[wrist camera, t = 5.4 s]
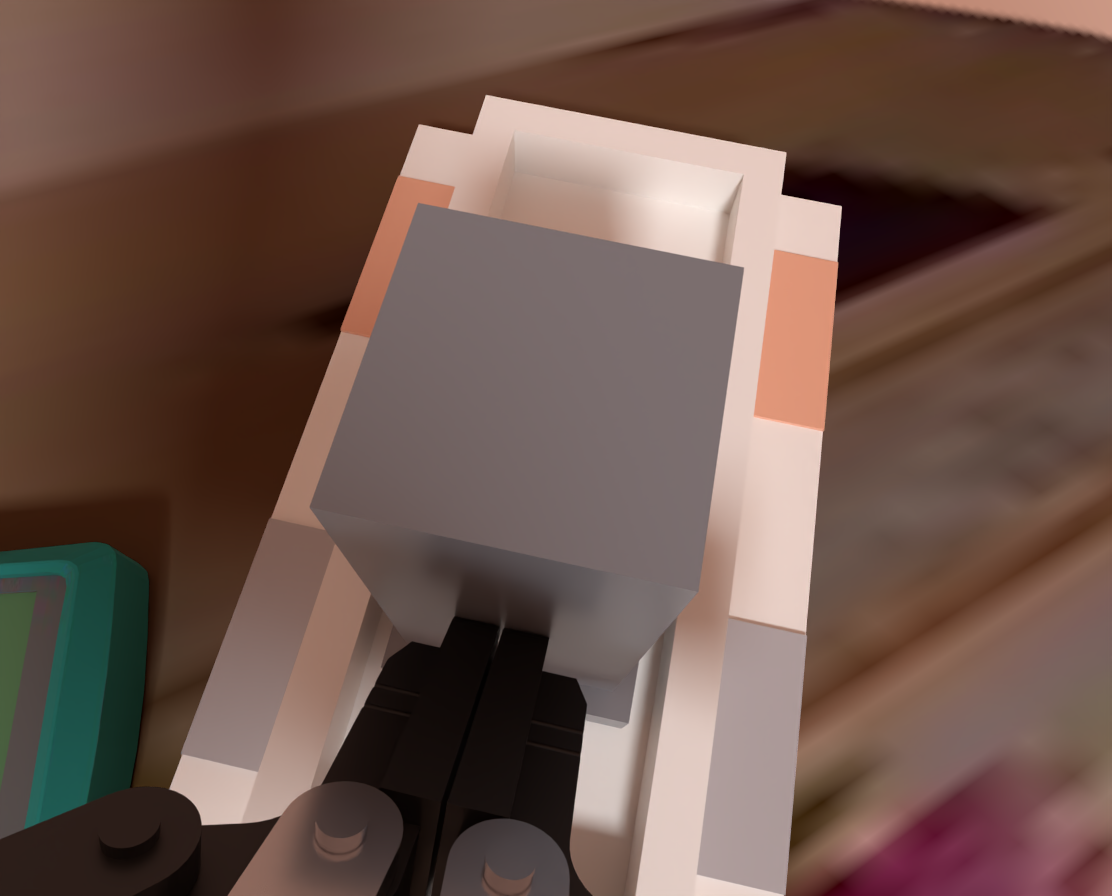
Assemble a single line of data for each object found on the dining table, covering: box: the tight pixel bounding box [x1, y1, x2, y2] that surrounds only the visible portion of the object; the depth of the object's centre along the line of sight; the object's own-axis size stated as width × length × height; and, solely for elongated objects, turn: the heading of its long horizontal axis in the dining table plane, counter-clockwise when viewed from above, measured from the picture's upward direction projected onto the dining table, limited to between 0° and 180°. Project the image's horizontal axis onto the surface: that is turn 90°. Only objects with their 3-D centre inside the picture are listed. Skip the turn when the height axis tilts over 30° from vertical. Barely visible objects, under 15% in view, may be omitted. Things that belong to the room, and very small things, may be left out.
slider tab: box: [309, 203, 744, 729], centre depth 13 cm, size 5×5×9 cm
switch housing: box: [170, 95, 842, 896], centre depth 19 cm, size 12×19×4 cm, turn 168°
